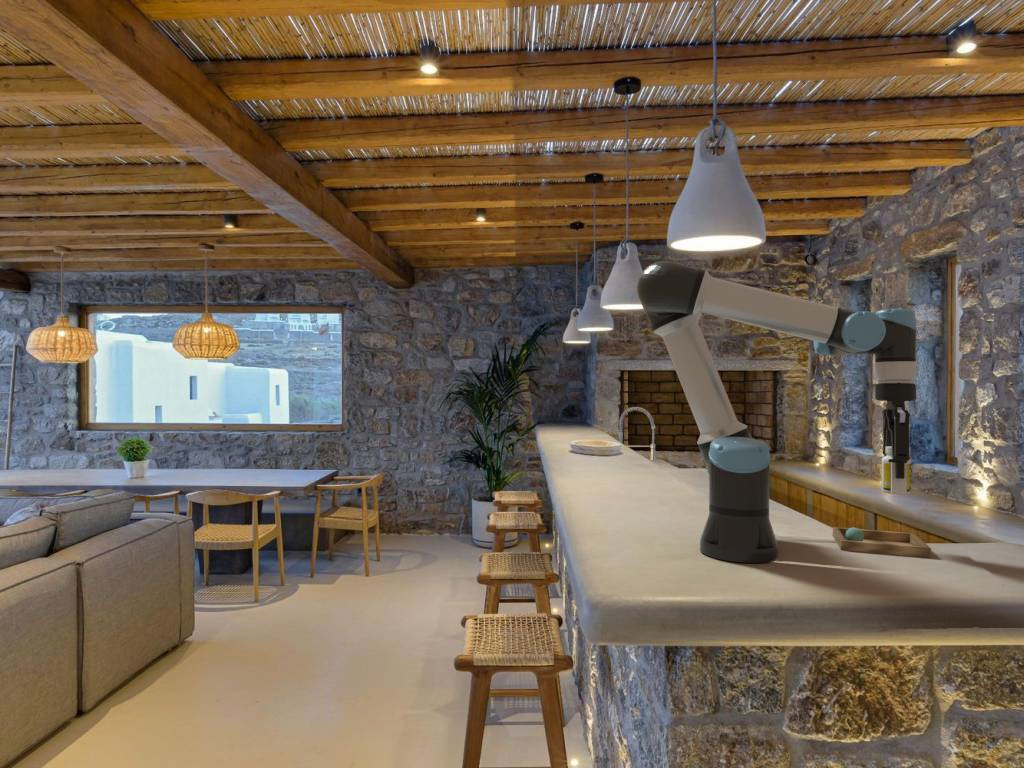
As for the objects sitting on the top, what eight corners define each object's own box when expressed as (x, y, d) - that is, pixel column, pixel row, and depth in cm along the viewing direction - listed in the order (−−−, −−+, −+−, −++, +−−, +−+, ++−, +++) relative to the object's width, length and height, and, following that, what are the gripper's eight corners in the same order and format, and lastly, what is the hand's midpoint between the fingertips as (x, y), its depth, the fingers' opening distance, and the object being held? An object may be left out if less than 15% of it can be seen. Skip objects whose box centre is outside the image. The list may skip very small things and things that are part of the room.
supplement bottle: (915, 495, 132) (915, 448, 132) (886, 494, 133) (886, 447, 133) (905, 491, 137) (905, 446, 137) (877, 490, 138) (877, 445, 138)
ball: (846, 544, 137) (846, 528, 137) (844, 541, 140) (844, 525, 140) (865, 546, 136) (865, 529, 136) (862, 542, 139) (862, 526, 139)
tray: (841, 552, 132) (841, 540, 132) (832, 538, 146) (832, 527, 146) (930, 560, 127) (930, 548, 127) (913, 544, 140) (913, 533, 140)
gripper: (927, 381, 126) (927, 499, 125) (905, 382, 143) (905, 486, 143) (884, 381, 128) (884, 497, 128) (867, 382, 145) (867, 484, 145)
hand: (895, 491), depth 135 cm, fingers closed on supplement bottle, 5 cm apart
